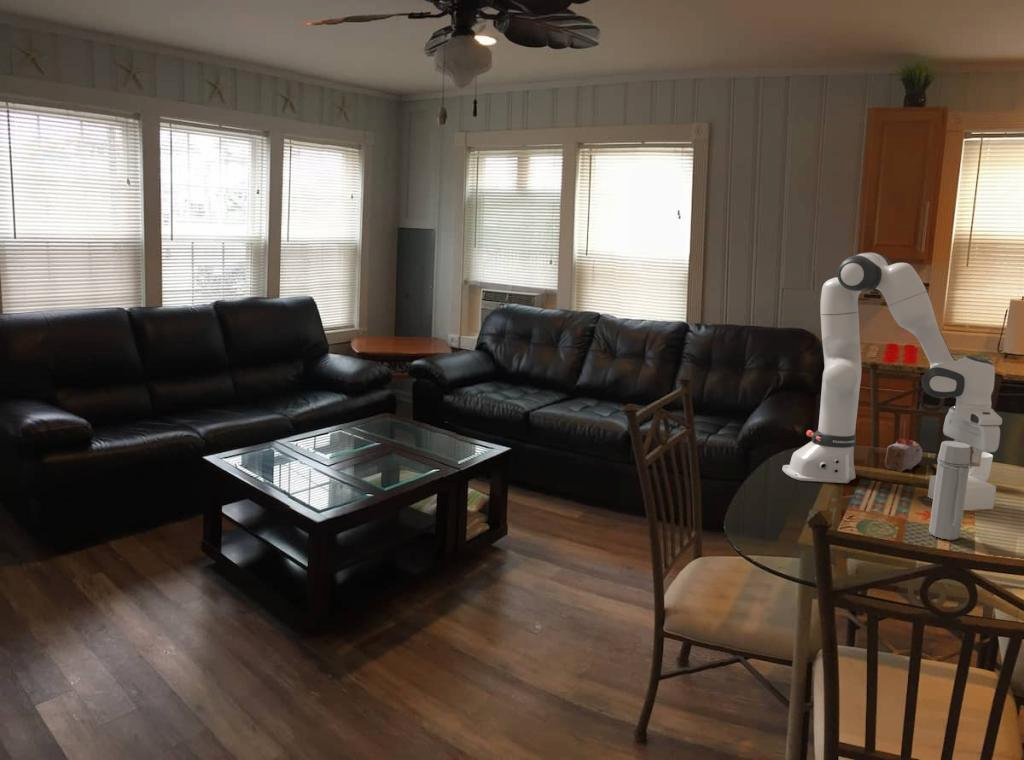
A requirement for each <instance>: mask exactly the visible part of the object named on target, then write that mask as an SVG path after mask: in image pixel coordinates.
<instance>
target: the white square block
mask: <svg viewBox="0 0 1024 760" xmlns="http://www.w3.org/2000/svg"><path fill="white" fill-rule="evenodd" d="M935 481H936V474H935V475H929V484H928V491H927V498H928V497H929V498H928V499H930V498H931V500H932V499H933V496H934V488H935ZM996 492H997V486H996V485H994V484H992V483H989V482H988V481H987V482H984V481H982V480H979V479H976V478H974V477H971V476H969V475H968V480H967V487H966V494H965V501H964V509H963V510H969V511H974V510H973V509H982V510H993V509H994V506H995V499H996Z"/></svg>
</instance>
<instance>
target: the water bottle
mask: <svg viewBox="0 0 1024 760" xmlns="http://www.w3.org/2000/svg"><path fill="white" fill-rule="evenodd" d="M936 460H937V466H936V473H935V475H936V481H935V488H934V496H933V500H932V506H931V510H930V511H931V513H930V521H929V527H928V531H929V534H930V535H931V536H932V535H933V536H932V537H934V536H935V537H934V538H936V537H938V538H937V539H939V538H941V539H940V540H942V539H947V540H946V541H955V540H957V539H959V538H960V535H961V529H962V523H963V522H962V521H963V515H964V514H963V513H964V511H963V509H964V501H965V494H966V487H967V480H968V473H969V469H970V468H972V465H971V463H970V445H968V444H965V443H962V442H956V441H954V440H944V441H942V442H941V444H940V449H939V452H938V456H937V459H936ZM969 465H970V467H968V466H969Z"/></svg>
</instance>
